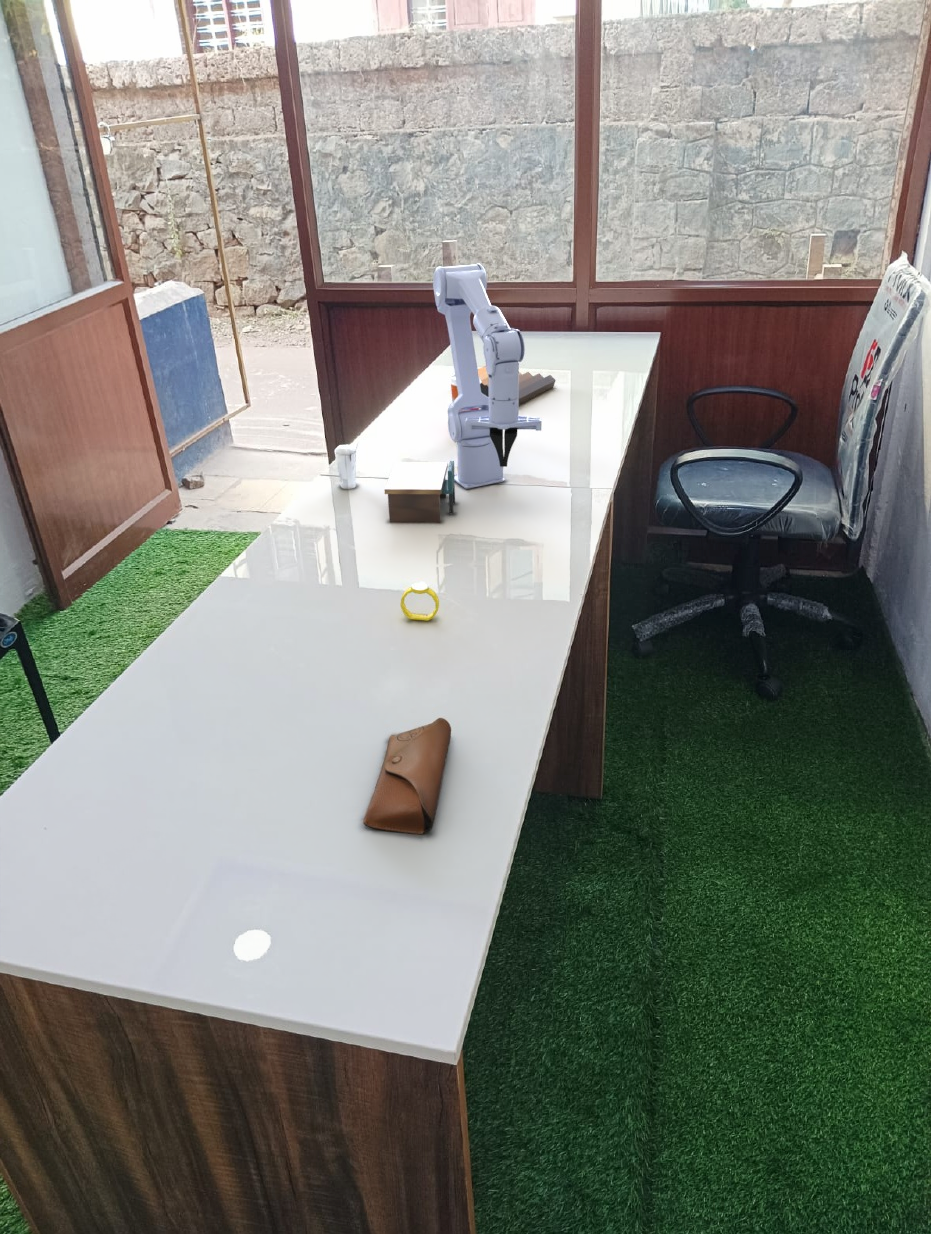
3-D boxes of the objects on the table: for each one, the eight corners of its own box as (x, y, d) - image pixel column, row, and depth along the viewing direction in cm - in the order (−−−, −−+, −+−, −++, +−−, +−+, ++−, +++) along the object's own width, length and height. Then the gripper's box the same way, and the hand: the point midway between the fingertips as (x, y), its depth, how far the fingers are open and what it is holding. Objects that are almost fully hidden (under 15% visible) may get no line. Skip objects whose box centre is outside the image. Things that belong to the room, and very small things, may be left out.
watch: (400, 622, 146) (398, 589, 143) (403, 613, 148) (401, 581, 145) (437, 623, 145) (436, 590, 142) (440, 615, 148) (438, 582, 145)
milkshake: (358, 491, 195) (355, 446, 190) (335, 489, 196) (330, 444, 191) (365, 483, 199) (361, 438, 194) (341, 482, 200) (337, 437, 195)
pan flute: (511, 410, 243) (555, 387, 261) (511, 397, 241) (555, 375, 260) (434, 397, 255) (481, 376, 273) (433, 385, 253) (480, 364, 271)
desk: (448, 495, 192) (447, 462, 189) (442, 524, 179) (441, 489, 176) (396, 494, 193) (394, 462, 189) (386, 523, 180) (384, 489, 176)
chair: (455, 502, 188) (453, 460, 184) (452, 514, 183) (451, 471, 178) (418, 502, 189) (416, 460, 184) (415, 513, 183) (413, 471, 179)
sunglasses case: (386, 732, 120) (410, 697, 116) (433, 756, 121) (458, 722, 118) (360, 828, 104) (386, 790, 101) (414, 854, 105) (442, 818, 102)
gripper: (464, 402, 171) (465, 471, 177) (542, 402, 170) (540, 472, 176) (466, 392, 177) (467, 459, 183) (541, 392, 176) (540, 459, 183)
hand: (503, 464), depth 180 cm, fingers closed
